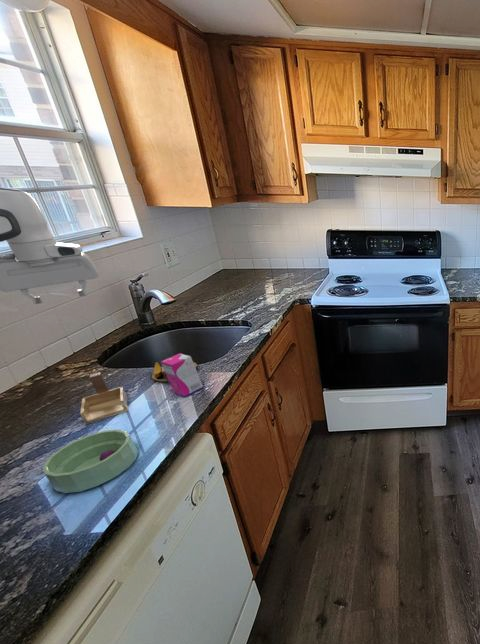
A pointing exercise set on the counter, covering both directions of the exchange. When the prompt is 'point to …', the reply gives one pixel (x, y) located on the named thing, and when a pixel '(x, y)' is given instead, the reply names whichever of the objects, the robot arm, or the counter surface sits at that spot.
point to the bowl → (90, 461)
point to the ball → (106, 454)
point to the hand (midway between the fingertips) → (61, 299)
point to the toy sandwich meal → (161, 373)
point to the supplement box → (182, 375)
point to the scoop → (103, 401)
